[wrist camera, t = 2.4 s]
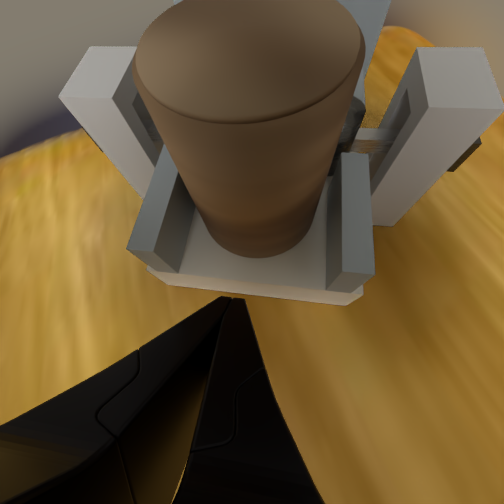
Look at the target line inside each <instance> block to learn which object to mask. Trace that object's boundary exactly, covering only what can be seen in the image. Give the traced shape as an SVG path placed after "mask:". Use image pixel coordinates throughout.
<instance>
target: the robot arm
mask: <svg viewBox="0 0 504 504" xmlns="http://www.w3.org/2000/svg"><path fill="white" fill-rule="evenodd" d="M187 459H188V460H187ZM186 461H187V463H186ZM185 464H186V467H185ZM184 467H185V471H184V474H183V477H182V480H181V483H180V486H179V489H178V491H177V494H176V496H175V498H174V500H173V502H172V499H173V497H174V494H175V491H176V489H177V486H178V483H179V480H180V478H181V475H182V472H183V470H184ZM171 502H172V504H325V503H324V501H323V499H322V497H321V495H320V494H319V492H318V490H317V488H316V486H315V484H314V482H313V480H312V478H311V476H310V473H309V471H308V469H307V467H306V465H305V463H304V460H303V458H302V456H301V454H300V452H299V450H298V447H297V445H296V443H295V441H294V439H293V437H292V435H291V432H290V430H289V428H288V426H287V424H286V422H285V419H284V417H283V415H282V412H281V410H280V408H279V405H278V403H277V401H276V398H275V395H274V392H273V389H272V387H271V384H270V381H269V377H268V374H267V371H266V369H265V365H264V361H263V358H262V355H261V351H260V348H259V345H258V341H257V338H256V335H255V331H254V328H253V325H252V321H251V318H250V315H249V311H248V308H247V305H246V301H245V299H242V298H233V299H232V298H231V297H225V296H220V297H218V298H217V299H215V300H214V301H212V302H210V303H209V304H207V305H206V306H204V307H203V308H201V309H200V310H198V311H196V312H195V313H193V314H192V315H190V316H189V317H187V318H185V319H184V320H182V321H181V322H179V323H178V324H176V325H174V326H173V327H171V328H170V329H168V330H167V331H165V332H163V333H162V334H160V335H159V336H157V337H156V338H154V339H152V340H151V341H149V342H148V343H146V344H145V345H143V346H142V347H140V348H139V350H138V349H137V350H135V351H133V352H132V353H130V354H129V355H127V356H126V357H124V358H122V359H121V360H119V361H117V362H116V363H114V364H113V365H111V366H109V367H108V368H106V369H104V370H103V371H101V372H99V373H97V374H95V375H94V376H92V377H90V378H88V379H86V380H85V381H83V382H81V383H79V384H77V385H76V386H74V387H72V388H70V389H68V390H66V391H65V392H63V393H61V394H59V395H57V396H55V397H53V398H52V399H50V400H48V401H46V402H44V403H42V404H40V405H39V406H37V407H35V408H33V409H31V410H29V411H28V412H26V413H24V414H22V415H20V416H18V417H16V418H14V419H12V420H10V421H8V422H6V423H5V424H2V425H0V504H171Z"/></svg>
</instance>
